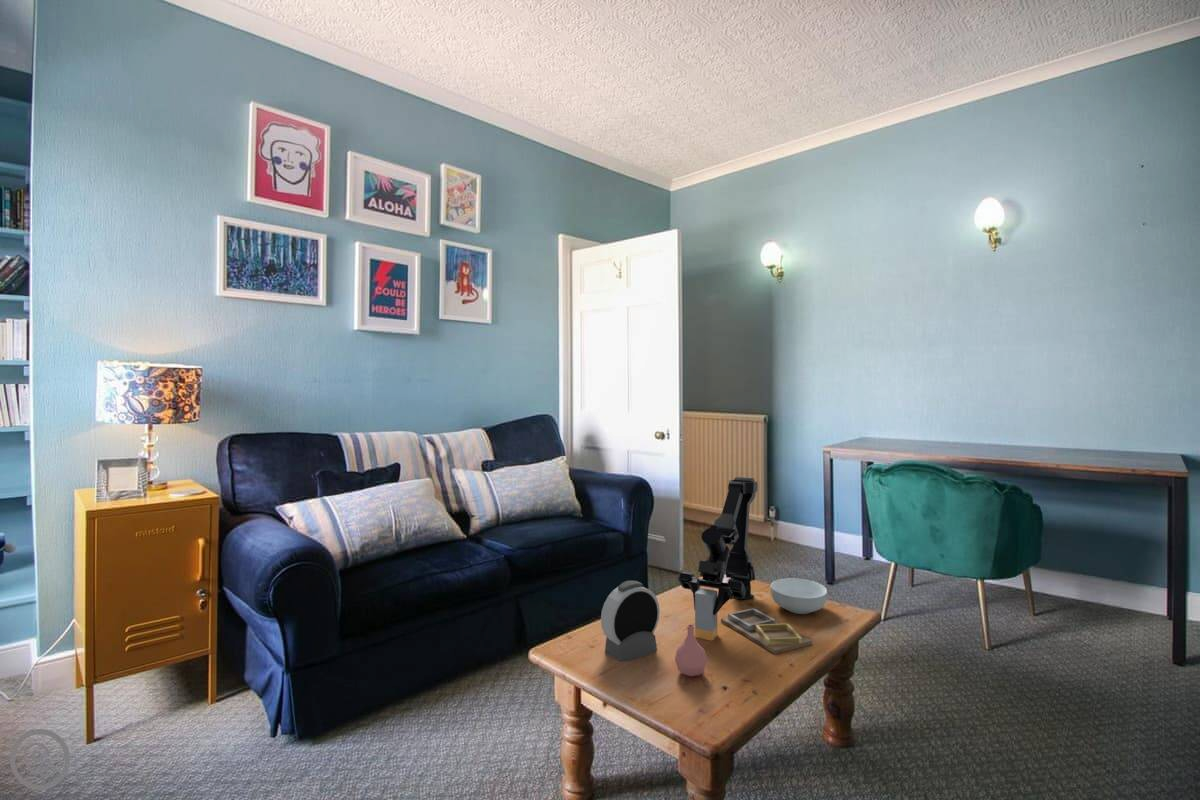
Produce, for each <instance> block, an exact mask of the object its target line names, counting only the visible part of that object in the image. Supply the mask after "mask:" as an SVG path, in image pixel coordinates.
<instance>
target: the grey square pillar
mask: <svg viewBox="0 0 1200 800" xmlns="http://www.w3.org/2000/svg"><path fill="white" fill-rule="evenodd" d="M717 596H718V590H713V589H707V588H703V587H702V588H701V587H700V589H699V590H698V591H697V592H696V593H695V610H694V620H695V621H694V636H695V638H699V639H703V640H708V641H713V640H715V639H716V637H717V636H718V612H717V613H716V615H713V610H714V606H715V603H716V600H717Z"/></svg>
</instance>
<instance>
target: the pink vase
mask: <svg viewBox="0 0 1200 800" xmlns="http://www.w3.org/2000/svg"><path fill="white" fill-rule="evenodd" d="M696 638H697V637H695V624H688V625H687V635H686V637H685V639H684V641H683V642H682V643H681V644H680V645H679V646H678V647H677V648H676V652H675V656H674V661H675V664H676V666H677V667H676V668H677V670H678V671H679V672H680V673H681V674H683V675H686V676H688V677H695V676H700V675H702V674H704V672H705V668H706V665H707V662H708V660H707V654H706V650H705V649H704V648H703V647H702V646H701V645H700V644H699V643H698V641H697V639H696Z"/></svg>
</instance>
